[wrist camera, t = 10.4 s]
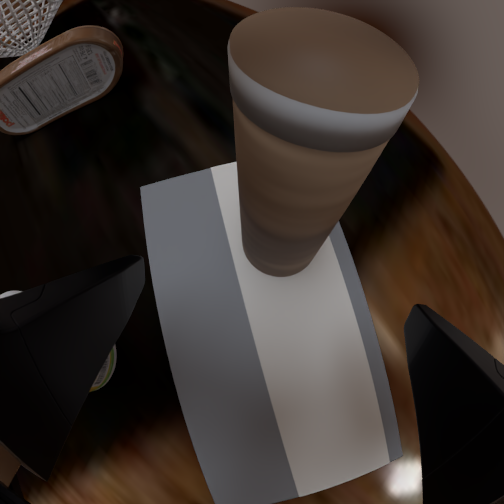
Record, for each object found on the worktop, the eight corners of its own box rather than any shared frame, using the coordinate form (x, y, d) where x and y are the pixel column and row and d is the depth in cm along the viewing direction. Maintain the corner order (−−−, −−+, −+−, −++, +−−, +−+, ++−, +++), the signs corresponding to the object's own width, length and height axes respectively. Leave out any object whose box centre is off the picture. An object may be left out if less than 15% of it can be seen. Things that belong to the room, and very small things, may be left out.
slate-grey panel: (398, 453, 14) (403, 456, 13) (219, 508, 13) (218, 513, 12) (307, 153, 20) (308, 148, 20) (143, 191, 19) (139, 186, 19)
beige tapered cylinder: (332, 252, 17) (451, 88, 5) (267, 292, 17) (316, 139, 4) (289, 193, 19) (332, 1, 6) (226, 228, 18) (194, 27, 6)
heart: (91, 2, 33) (66, -80, 12) (117, 13, 30) (88, -95, 9) (-27, 88, 28) (-74, 18, 6) (-30, 122, 24) (-96, 35, 3)
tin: (132, 73, 24) (110, 8, 16) (134, 89, 23) (109, 20, 15) (15, 132, 22) (-23, 85, 14) (10, 151, 21) (-32, 104, 13)
